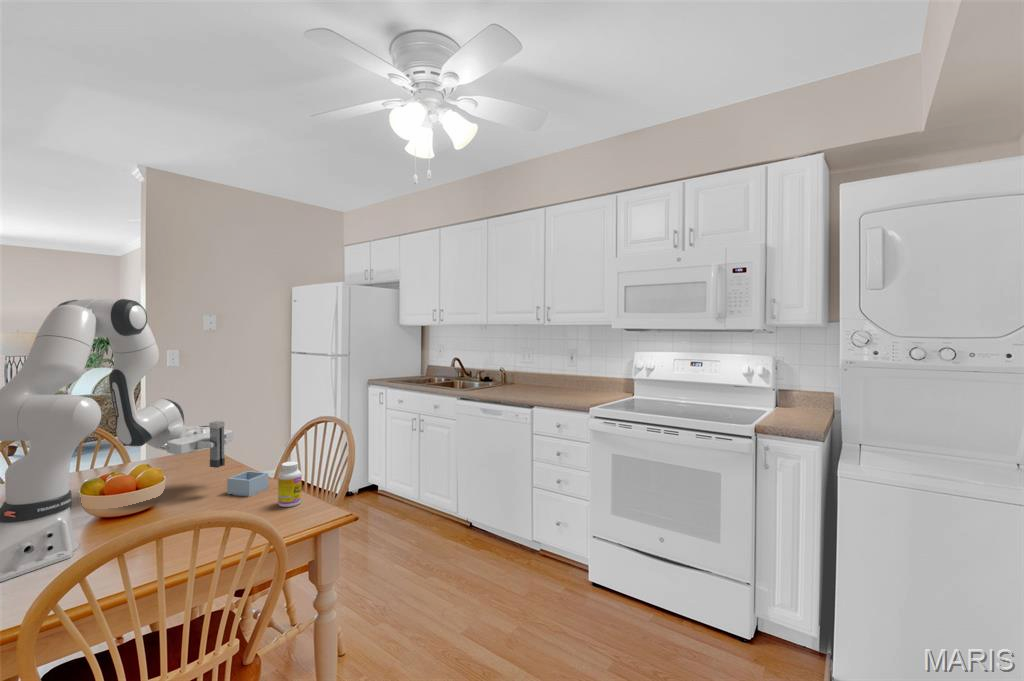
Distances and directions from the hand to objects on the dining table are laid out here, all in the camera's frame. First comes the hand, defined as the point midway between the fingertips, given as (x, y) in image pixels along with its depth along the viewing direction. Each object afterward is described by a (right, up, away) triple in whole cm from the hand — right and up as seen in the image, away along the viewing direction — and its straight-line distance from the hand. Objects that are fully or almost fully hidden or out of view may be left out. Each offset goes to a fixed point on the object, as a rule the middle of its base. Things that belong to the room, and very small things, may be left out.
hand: (219, 443), depth 158 cm
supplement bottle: (+26, -18, -6) cm, 32 cm away
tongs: (-1, -7, +1) cm, 8 cm away
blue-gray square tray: (+7, -17, +5) cm, 19 cm away
